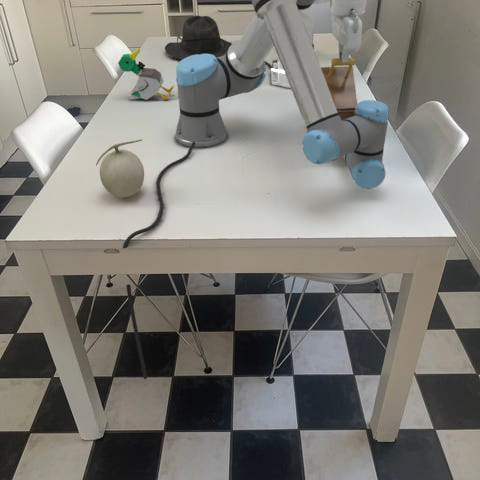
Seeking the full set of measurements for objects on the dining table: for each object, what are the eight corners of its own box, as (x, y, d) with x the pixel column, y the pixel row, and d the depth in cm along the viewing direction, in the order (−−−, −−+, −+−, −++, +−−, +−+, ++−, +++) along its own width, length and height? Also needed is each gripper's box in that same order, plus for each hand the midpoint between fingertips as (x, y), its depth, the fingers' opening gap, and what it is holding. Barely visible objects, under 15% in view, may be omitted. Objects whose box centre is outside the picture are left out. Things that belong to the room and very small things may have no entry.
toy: (179, 80, 179) (129, 44, 172) (154, 118, 185) (104, 85, 178) (180, 75, 184) (131, 40, 177) (155, 113, 190) (107, 81, 184)
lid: (320, 69, 150) (325, 49, 141) (351, 68, 150) (359, 48, 142) (324, 111, 146) (330, 93, 138) (357, 110, 147) (365, 92, 138)
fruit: (93, 194, 129) (82, 138, 120) (134, 179, 134) (126, 125, 126) (112, 211, 122) (101, 153, 113) (154, 195, 128) (147, 139, 119)
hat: (239, 41, 247) (238, 8, 239) (231, 62, 218) (230, 27, 210) (174, 40, 250) (171, 9, 242) (157, 62, 221) (153, 26, 213)
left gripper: (400, 134, 130) (376, 102, 149) (314, 137, 130) (301, 105, 148) (395, 161, 135) (373, 127, 153) (312, 164, 134) (300, 130, 153)
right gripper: (370, 13, 125) (364, 70, 133) (351, -2, 142) (346, 50, 150) (345, 14, 125) (339, 71, 133) (329, -1, 142) (325, 50, 149)
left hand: (337, 116), depth 151 cm, fingers closed on chest, 9 cm apart
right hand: (343, 60), depth 141 cm, fingers closed on lid, 2 cm apart
